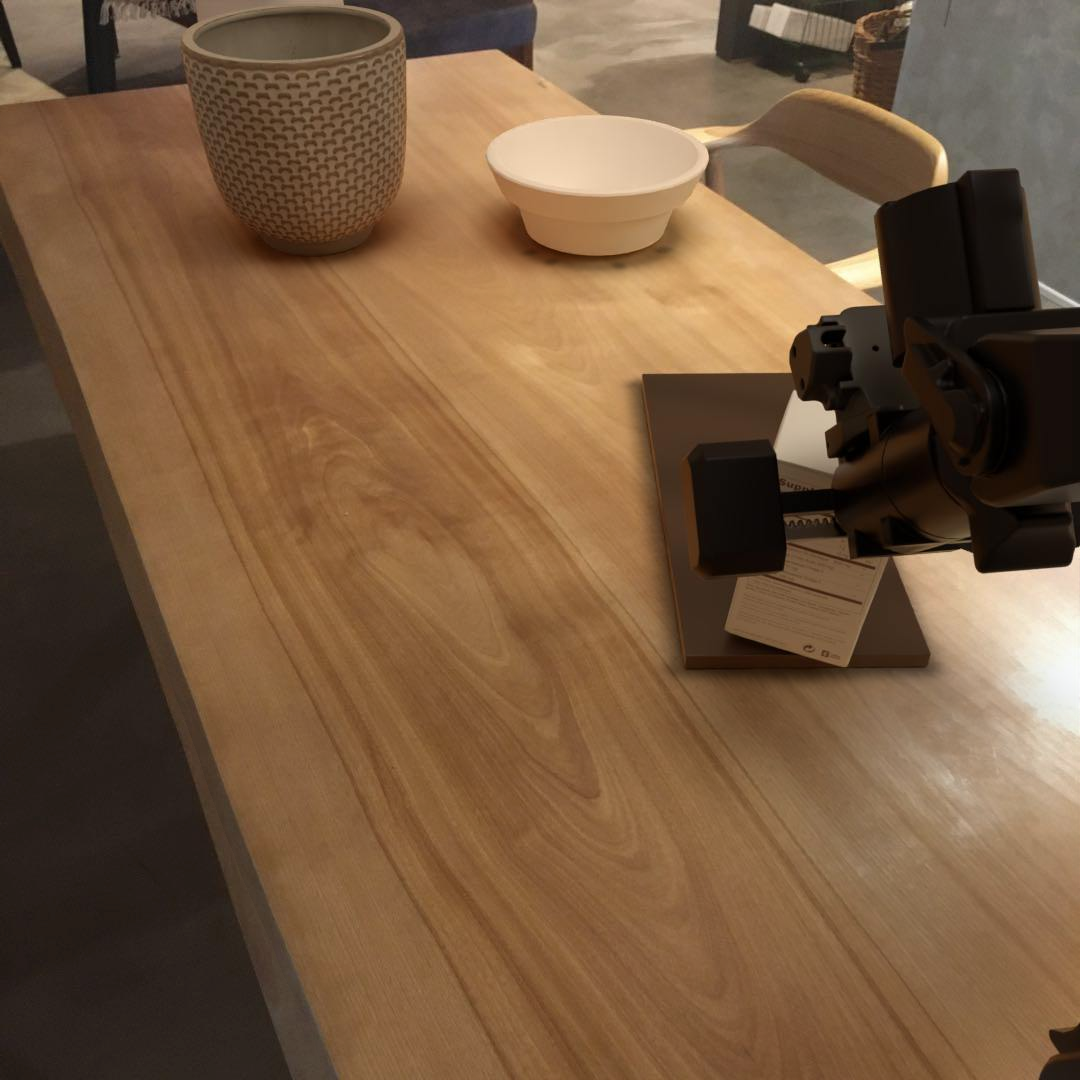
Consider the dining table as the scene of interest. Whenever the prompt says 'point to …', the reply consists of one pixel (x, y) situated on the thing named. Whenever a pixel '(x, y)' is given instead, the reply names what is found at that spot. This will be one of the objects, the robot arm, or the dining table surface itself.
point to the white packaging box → (807, 560)
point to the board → (703, 605)
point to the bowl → (596, 179)
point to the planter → (302, 119)
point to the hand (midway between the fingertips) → (826, 523)
